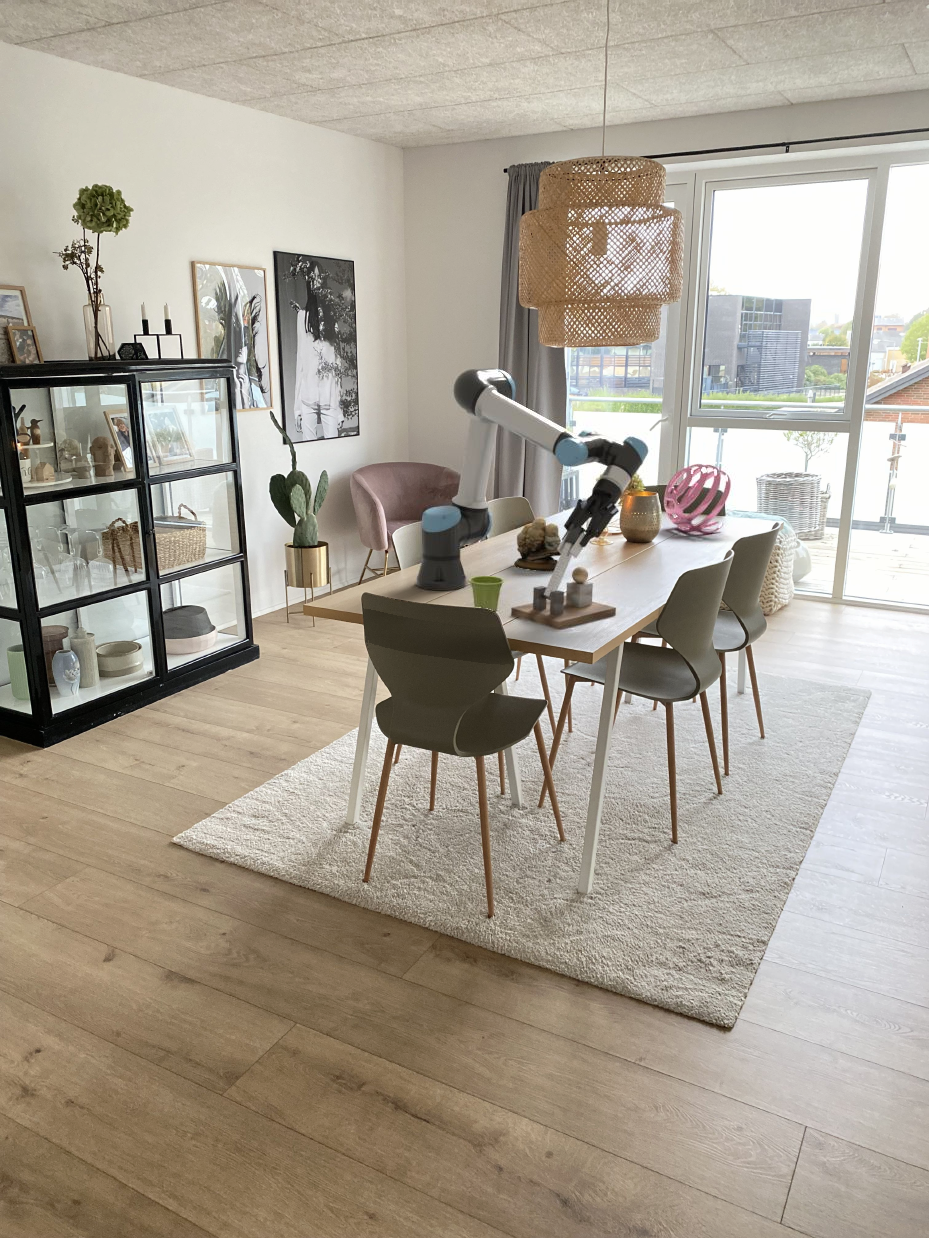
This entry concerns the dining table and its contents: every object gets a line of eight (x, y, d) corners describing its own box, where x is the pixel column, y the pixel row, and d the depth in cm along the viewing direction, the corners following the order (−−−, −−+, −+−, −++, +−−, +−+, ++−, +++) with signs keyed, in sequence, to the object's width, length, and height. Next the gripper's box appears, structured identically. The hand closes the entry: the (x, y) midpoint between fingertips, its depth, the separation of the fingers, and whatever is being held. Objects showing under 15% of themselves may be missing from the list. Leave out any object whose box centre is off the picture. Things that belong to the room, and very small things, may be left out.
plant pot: (502, 605, 265) (502, 575, 263) (504, 614, 256) (504, 583, 254) (468, 605, 265) (468, 575, 263) (469, 614, 256) (470, 583, 254)
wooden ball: (568, 582, 258) (568, 566, 257) (579, 580, 261) (579, 564, 260) (580, 585, 255) (580, 569, 254) (591, 583, 258) (591, 567, 256)
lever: (537, 595, 251) (568, 523, 253) (546, 600, 254) (577, 529, 256) (548, 597, 248) (579, 525, 250) (557, 603, 251) (588, 531, 253)
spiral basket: (738, 478, 386) (689, 441, 377) (760, 504, 362) (709, 466, 353) (691, 529, 397) (643, 495, 387) (710, 558, 372) (660, 522, 363)
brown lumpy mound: (571, 567, 314) (573, 516, 310) (556, 574, 305) (558, 522, 300) (523, 560, 323) (524, 511, 318) (507, 567, 313) (507, 516, 309)
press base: (511, 614, 256) (511, 586, 254) (567, 601, 270) (568, 574, 268) (558, 629, 243) (559, 599, 241) (615, 614, 256) (617, 586, 254)
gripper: (640, 498, 254) (596, 567, 248) (593, 491, 266) (550, 556, 261) (629, 480, 249) (583, 549, 243) (581, 474, 262) (537, 540, 256)
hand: (566, 553), depth 252 cm, fingers closed on lever, 4 cm apart
